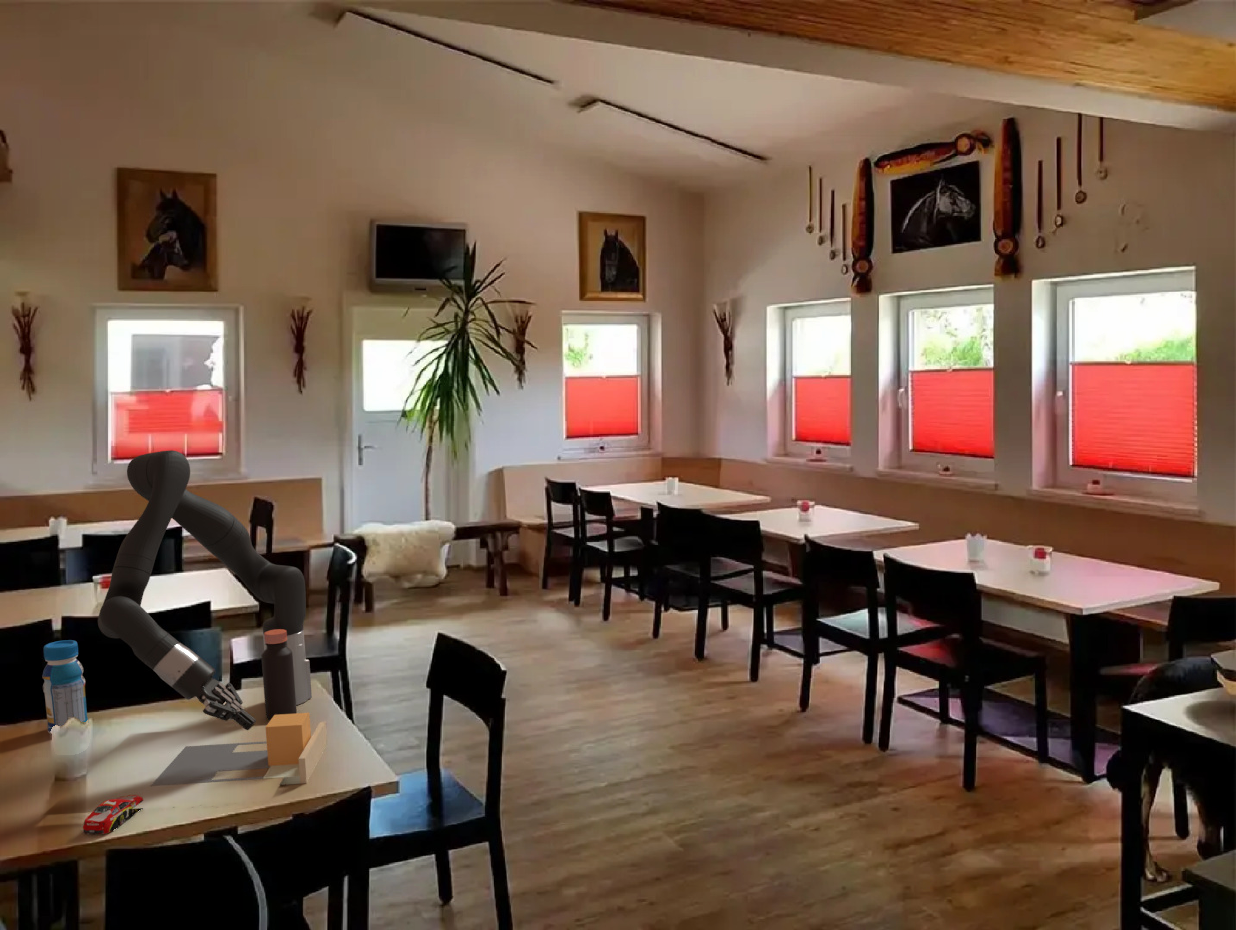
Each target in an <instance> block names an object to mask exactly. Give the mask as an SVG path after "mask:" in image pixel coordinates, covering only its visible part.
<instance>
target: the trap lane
mask: <svg viewBox="0 0 1236 930" xmlns="http://www.w3.org/2000/svg"><path fill="white" fill-rule="evenodd" d="M327 734H328V733H327V721H320V722H319V723H318V725H317V726H316V728H315V730H314V731H313V734H311V738H310V740H309V742H308V744H307V745H306V747H305V749H304V750H303V752H302V754H301V755H300V757H299V764H291V765H275V766H268V753H267V750H266V749H265V750H264V749H263V750H251V751H237V752H236V751H235V749H236V748H237V747H238V746H244V745H245V746H246V745H260V744H263V745H264V744H267V740H265V741H252V742H251V741H249V742H238V743H237V742H235V743H221V744H205V745H204V744H203V745H202V744H201V745H189V746H188V745H185V747H184V748H183V749H182V750H181V751H180V752H179V753H178V754H177V755H176V756H175V758H174V759H173V760H172V761H171V762H170V763H169V764H168V766H167V767H165V769H164V770H163V771H162V772H161V773H160V774H159V775H158V777H157V778H156V779H155V780H154V781H153V783H151V784H150V787H157V786H171V785H172V786H174V785H185V784H186V785H188V784H203V783H204V784H205V783H220V782H221V783H222V782H232V781H233V782H234V781H248V780H249V781H250V780H261V779H265V780H266V779H278V778H279V779H280V778H281V779H282V780H281V782H280V784H279V785H280V786H282V785H283V786H284V785H285V784H286V785H299V784H307V783H308V781H309V779H310V778H311V776H312V774H313V772H314V770H315V768H316V767H317V764H318V763H319V761H320V759H321V757H322V755H323V753H324V752H325V750H324V749H327V748H326V747H327V746H328V735H327ZM234 751H235V752H234ZM259 769H268V770H267V772H266V773H265V774H264V776H263V775H262V776H251V777H250V776H249V777H247V776H246V777H234V778H221V779H220V778H219V779H214V777H215V776H216V774H217V773H218V772H227V771H228V772H229V771H243V770H244V771H245V770H259Z"/></svg>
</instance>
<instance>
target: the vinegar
mask: <svg viewBox="0 0 1236 930" xmlns="http://www.w3.org/2000/svg"><path fill="white" fill-rule="evenodd" d="M264 638H265V645H266V646H267V649H266V650H265V651H264V650H263V652H262V654H261V669H262V683H263V695H264V711H265V718H266V719H267V720H268V721H270V720H271V719H272V718H273V716H274V715H280V714H296V713H298V711H297V710H298V709H297V705H296V695H295V681H294V667H293V653H292V651H291V649H289V648H288V647H287V646H286V643H287V631H286V630H284V629H275V630H270V631H267V632H265V633H264ZM264 638H263V639H264Z"/></svg>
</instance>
